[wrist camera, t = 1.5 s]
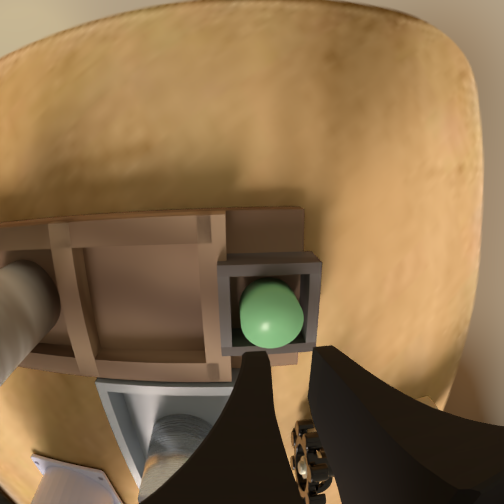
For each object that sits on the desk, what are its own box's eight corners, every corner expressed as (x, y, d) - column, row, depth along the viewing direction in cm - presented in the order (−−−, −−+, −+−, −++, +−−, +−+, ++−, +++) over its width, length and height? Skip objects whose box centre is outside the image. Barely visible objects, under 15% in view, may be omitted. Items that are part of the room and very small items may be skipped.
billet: (219, 454, 19) (220, 522, 13) (159, 453, 19) (148, 518, 13) (214, 414, 18) (213, 489, 12) (146, 412, 18) (128, 484, 12)
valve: (444, 375, 20) (295, 400, 19) (490, 426, 13) (317, 479, 12) (420, 433, 21) (287, 459, 21) (453, 484, 15) (301, 528, 14)
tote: (247, 477, 21) (249, 500, 18) (147, 474, 20) (143, 496, 18) (243, 360, 18) (245, 386, 15) (107, 358, 17) (94, 382, 15)
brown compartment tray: (300, 354, 18) (333, 441, 11) (1, 344, 16) (-52, 399, 10) (307, 206, 16) (365, 237, 9) (-27, 225, 14) (-102, 255, 7)
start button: (294, 327, 15) (301, 346, 13) (239, 329, 15) (241, 349, 13) (296, 276, 14) (305, 290, 13) (238, 278, 14) (240, 293, 12)
